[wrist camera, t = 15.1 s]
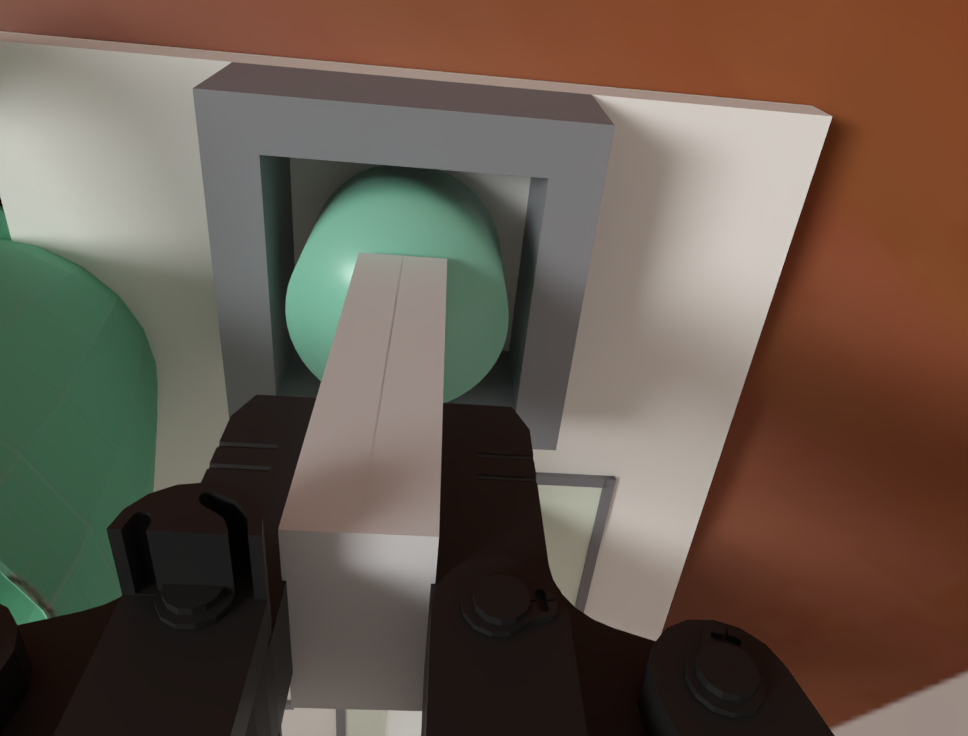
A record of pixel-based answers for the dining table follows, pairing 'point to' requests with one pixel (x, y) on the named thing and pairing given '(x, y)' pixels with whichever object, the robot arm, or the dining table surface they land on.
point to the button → (408, 232)
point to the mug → (67, 430)
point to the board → (524, 249)
